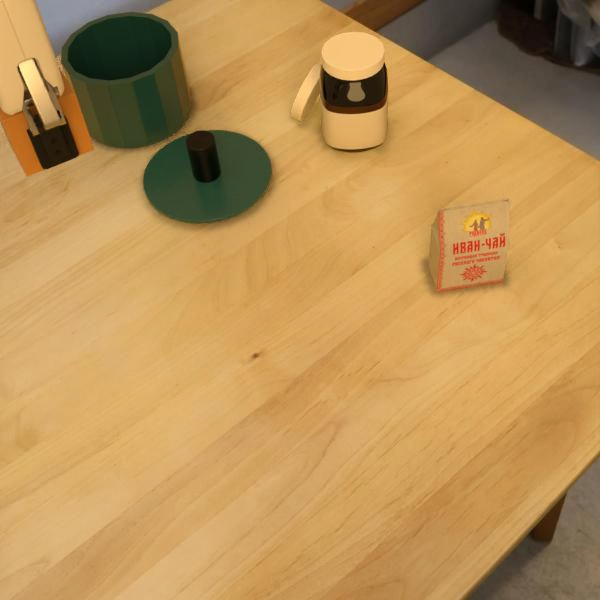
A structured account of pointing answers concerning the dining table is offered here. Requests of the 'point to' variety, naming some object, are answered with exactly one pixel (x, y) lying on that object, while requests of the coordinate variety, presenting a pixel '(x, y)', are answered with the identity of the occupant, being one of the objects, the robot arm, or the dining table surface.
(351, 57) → the spread jar
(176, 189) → the lid
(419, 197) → the dining table surface
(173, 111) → the pot
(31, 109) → the orange seamed cube
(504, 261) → the tea bag
